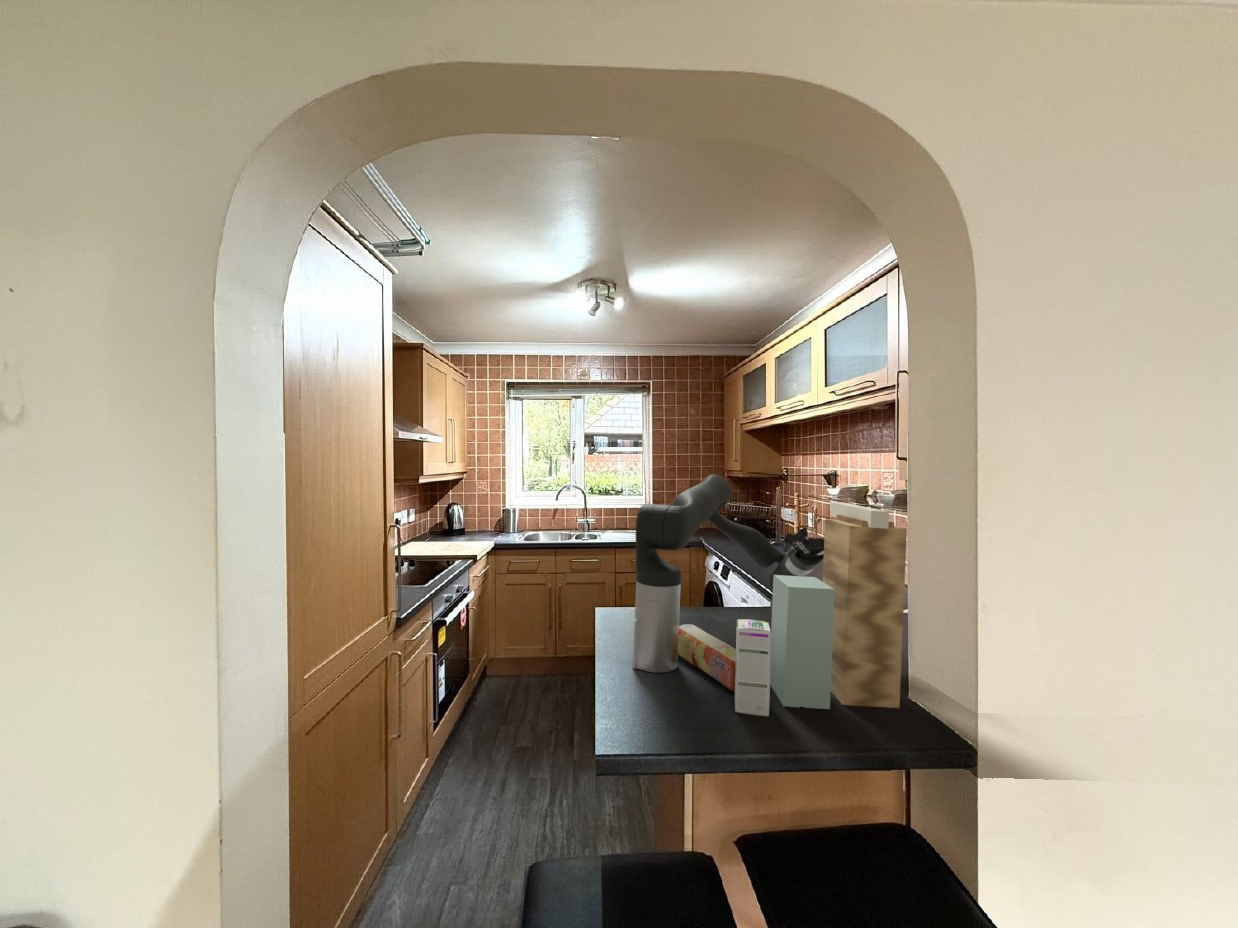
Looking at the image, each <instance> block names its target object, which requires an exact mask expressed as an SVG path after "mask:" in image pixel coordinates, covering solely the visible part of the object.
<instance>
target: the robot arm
mask: <svg viewBox="0 0 1238 928" xmlns="http://www.w3.org/2000/svg"><path fill="white" fill-rule="evenodd" d="M733 495H734V494H733V489H732V487H731V484H730V483H729V482H728V481H727V480H726V479H725V478H724V477H722V476H720V475H718V474H710V475H708V476H707V477H705V478H704V479H703V480H702V481H701V482H700V483H698V484H697V485H694V486H692V487H690V488H688V489H685V490H684V491H682V492H680V493H679V494H678V495H676V497H675V498H674V499H673V501H672V503H671V505H670V504H657V503H655V504H654V503H645V504H643V505H641V506H640V508H639V509H638V512H637V514H636V515H637V516H636V520H635V572H636V576H635V577H636V582H635V583H636V584H635V609H634V625H633V648H632V669H638V670H641V671H643V672H644V671H645V672H648V673H649V672H650V673H669V672H673V671H675V670H676V669H677V667H678V658H679V655H678V636H679V626H680V610H681V609H680V607H681V606H680V605H681V582H682V572H681V570H680V568H678V567H677V566H676V565H674V564H672V563H669V562H668V561H666V560H665V559H664V558H662V557H661V555H660V554H659V553H658V550H664V551H679V550H682V549H684V548H685V547H686V546H687V544H689V542H690V540H691V539H692V537H693V536H694V534H696V532H697V530H699V529H700V528H701V527H702V526H703V525H704V524H706V523H707V522H709V523H711V524H712V525H713V526H715V528H717V529H718V530H719V531H720V532H721V533H723V534H724V535H725V536H726V537H728V538H729V539H730V540H732V541H733V542H734V543H735V544H736V545H738V547H739V548H740V549H741V550H743V552H744V553H745V554H746V555H747V556H748V557H749V558H750V559H751V560H752V561H753V562H754V563H755V564H756V566H758V567H759V568H760V569H767V568H769V567H771V566H772V565H773V564H776V565H777V567H776V568H775V569H774V570H773V572H772V573H771V574H770V575H769V576H768V580H767V581H768V587H769V588H770V590H771V591H772V592H773V575H784V576H804V577H807V575H808V574H810V573H811V572H812V571H814V569H815V568H816V567H817V566H819V564H820V563H821V562H822V561H823V560H824V537H825V536H822V537H809V536H808V534H809V533H808V528H807V527H803V526H802V528H800V529H799V530H798V531H797V532H796V533H794V534H792V533H791V532H789V533H787V534H785V537H784V539H783V540H782V548H783V549H782V551H783V552H784V553H786V554H784V553H783V552H781V551H780V550H779V549H778V548H777V547H775V546H774V545H773V543H772V542H770V541H769V540H768V538H767V537H766V536H764V534H763V533H761V532H760V531H759V530H757V529H755V528H753V527H751V526H747V525H743V524H740V523H737V522H735V521H732V520H730V519H728V518H727V517H725V516H723V515H722V514H720V513H719V511H720V510H721V509H722V508H723V507H724V506H726V505H727V504H729V502H730V501H731V500H732V498H733Z"/></svg>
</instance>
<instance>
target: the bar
mask: <svg viewBox="0 0 1238 928" xmlns="http://www.w3.org/2000/svg"><path fill="white" fill-rule="evenodd" d="M836 515H843V516H847V517H852V518H856V519H860V520H864V521H867V527H870V528H885V529H888V528H889V521H890V520H889V519H890V511H888V510H882V509H877V508H873V507H868V506H863V505H859V504H854V503H853V504H852V503H848V502H835V501H832V502H831V501H830V517H834V518H836Z"/></svg>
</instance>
